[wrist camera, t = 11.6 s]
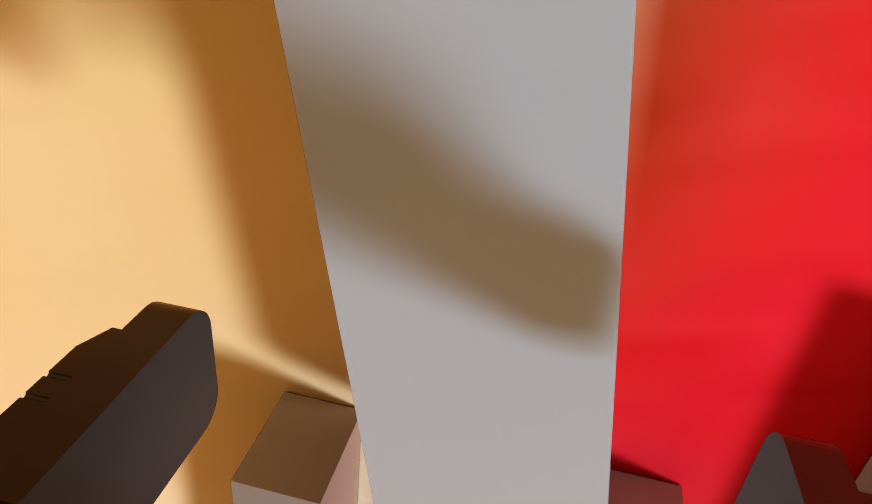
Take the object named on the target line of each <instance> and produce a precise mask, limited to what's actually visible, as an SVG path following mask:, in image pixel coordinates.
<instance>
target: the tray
mask: <svg viewBox="0 0 872 504" xmlns="http://www.w3.org/2000/svg"><path fill="white" fill-rule="evenodd" d="M855 483H856V485H857V488H858V490H859V491H861V492H865V493H870V494H872V456H871V457H870V459H869V461H868V462H867V464H866V465H865V467H864V468H863V470H862V471H861V473H860V475H859V476H858V478H857V479H856V481H855Z"/></svg>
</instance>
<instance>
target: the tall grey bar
mask: <svg viewBox="0 0 872 504" xmlns="http://www.w3.org/2000/svg"><path fill="white" fill-rule="evenodd" d="M274 4H275V9H276V14H277V19H278V24H279V29H280V34H281V39H282V44H283V49H284V54H285V59H286V64H287V69H288V74H289V79H290V85H291V90H292V95H293V100H294V105H295V110H296V115H297V120H298V125H299V130H300V135H301V140H302V145H303V150H304V155H305V160H306V165H307V170H308V175H309V180H310V185H311V190H312V195H313V200H314V205H315V210H316V215H317V220H318V225H319V230H320V235H321V240H322V245H323V250H324V255H325V260H326V265H327V270H328V275H329V280H330V285H331V290H332V295H333V300H334V305H335V310H336V316H337V321H338V326H339V331H340V336H341V341H342V346H343V351H344V356H345V361H346V366H347V371H348V376H349V381H350V386H351V391H352V396H353V401H354V406H355V411H356V416H357V421H358V426H359V431H360V436H361V441H362V446H363V451H364V456H365V461H366V466H367V471H368V476H369V481H370V486H371V491H372V496H373V501H374V504H608V496H609V478H610V460H611V442H612V425H613V407H614V389H615V371H616V354H617V336H618V318H619V300H620V282H621V265H622V247H623V229H624V211H625V194H626V176H627V158H628V140H629V123H630V105H631V87H632V69H633V52H634V34H635V16H636V0H274Z"/></svg>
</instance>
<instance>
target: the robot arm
mask: <svg viewBox="0 0 872 504" xmlns="http://www.w3.org/2000/svg"><path fill="white" fill-rule="evenodd" d="M217 395H218V386H217V376H216V367H215V358H214V348H213V339H212V330H211V322H210V319H209V316H208V314H207V313H206V312H204V311H201V310H196V309H191V308H186V307H182V306H177V305H172V304H167V303H162V302H152V303H150V304H149V305H147V306H146V307H145V308H144V309H143V310H142V311H141V312H140V313H139V314H138V315H137V316H136V317H134V318H133V319H132V320H131V321H130V322H129V323H128V324H127V325H126V326H125V327H124V328H123V329H122V330H121V329H117V328H111V329H109V330H107V331H105V332H103V333H101V334H99V335H97V336H95V337H93V338H91V339H89V340H87V341H85V342H83V343H81V344H79V345H77V346H76V347H75V348H74V349H73V350H71V351H70V352H69V353H68V354H67V355H66V356H65V357H64V358H63V359H61V360H60V361H59V362H58V363H57V364H56V365H55V366H54V367H53V368H52V369H50V370H49V374H48V376H47V377H45V376H43V377H42V378H41V379H39V380H38V381H37V382H36V383H35V384H34V385H33V386H32V387H31V388H30V389H28V390H27V391H26V395H25V397H24V398H19V399H17V400H16V401H15V402H14V403H13V404H12V405H11V406H10V407H9V408H8V409H6V410H5V411H4V412H3V413H2V414H1V415H0V504H154V502H155V501H156V499H157V498H158V496H159V495H160V494H161V492H162V491H163V489H164V488H165V487H166V485H167V484H168V482H169V481H170V479H171V478H172V477H173V475H174V474H175V472H176V471H177V469H178V468H179V467H180V465H181V464H182V462H183V461H184V460H185V458H186V457H187V455H188V454H189V452H190V451H191V450H192V448H193V447H194V445H195V444H196V443H197V441H198V440H199V438H200V437H201V435H202V434H203V433H204V431H205V430H206V428H207V426H208V424H209V423H210V420H211V418H212V416H213V413H214V410H215V406H216V402H217ZM734 504H872V494H870V493H865V492H861V491H859V490H858V488H857V485H856V483H855V480H854V478H853V476H852V473H851V471H850V468H849V466H848V464H847V461H846V459H845V457H844V455H843V453H842V451H841V450H840V448H839V447H837V446H836V445H834V444H830V443H826V442H821V441H816V440H811V439H806V438H802V437H797V436H792V435H787V434H782V433H778V432H772V433H770V434H769V435H768V436H767V437H766V439H765V440H764V442H763V444H762V446H761V448H760V450H759V452H758V454H757V456H756V458H755V461H754V463H753V465H752V467H751V469H750V471H749V473H748V475H747V477H746V479H745V481H744V484H743V486H742V488H741V490H740V492H739V494H738V496H737V498H736V500H735V502H734Z"/></svg>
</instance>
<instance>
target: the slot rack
mask: <svg viewBox="0 0 872 504" xmlns="http://www.w3.org/2000/svg"><path fill="white" fill-rule="evenodd" d="M360 442H361V436H360V431H359V426H358V421H357V416H356V411H355V408H351V407H347V406H343V405H339V404H335V403H330V402H326V401H322V400H318V399H314V398H309V397H305V396H301V395H297V394H293V393H288V392H284V394H283V396H282V397H281V399H280V400H279V402H278V404H277V405H276V407H275V409H274V410H273V412H272V414H271V415H270V417H269V419H268V420H267V422H266V424H265V425H264V427H263V428H262V430H261V432H260V433H259V435H258V437H257V438H256V440H255V442H254V443H253V445H252V447H251V448H250V450H249V452H248V453H247V455H246V456H245V458H244V460H243V461H242V463H241V465H240V466H239V468H238V470H237V471H236V473H235V475H234V476H233V478H232V480H231V488H232V498H233V504H357V503H358V482H359V462H360ZM608 504H683V496H682V487H681V486H679V485H675V484H671V483H667V482H662V481H658V480H654V479H650V478H646V477H641V476H637V475H633V474H629V473H625V472H620V471H616V470H612V469H610V478H609V496H608Z"/></svg>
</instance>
